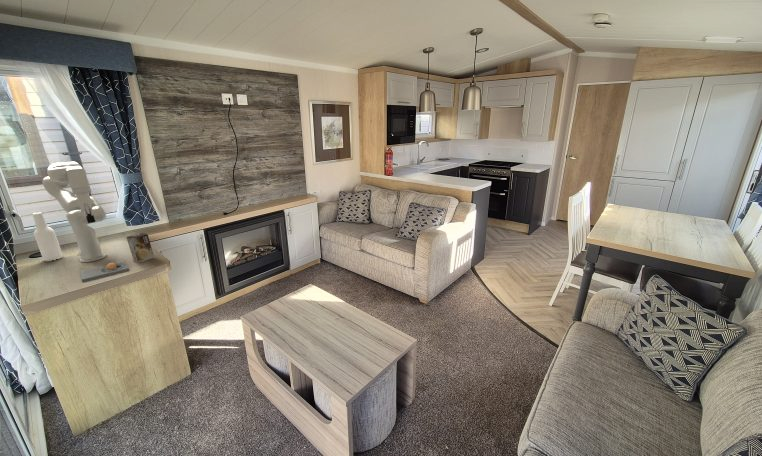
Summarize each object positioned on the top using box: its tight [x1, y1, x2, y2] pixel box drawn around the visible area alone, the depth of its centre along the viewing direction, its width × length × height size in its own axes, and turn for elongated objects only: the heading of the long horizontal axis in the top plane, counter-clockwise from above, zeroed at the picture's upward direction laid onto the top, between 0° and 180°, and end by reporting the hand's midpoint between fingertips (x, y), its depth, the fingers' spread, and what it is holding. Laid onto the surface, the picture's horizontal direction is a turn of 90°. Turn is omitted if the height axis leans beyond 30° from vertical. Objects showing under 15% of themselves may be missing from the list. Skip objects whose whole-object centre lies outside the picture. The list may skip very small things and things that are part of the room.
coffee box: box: [126, 232, 155, 264], centre depth 193 cm, size 9×6×16 cm
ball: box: [105, 262, 117, 270], centre depth 180 cm, size 4×4×4 cm
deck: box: [80, 260, 130, 283], centre depth 179 cm, size 20×14×2 cm
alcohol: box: [32, 211, 64, 262], centre depth 193 cm, size 9×9×30 cm
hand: (91, 222), depth 179 cm, fingers closed
